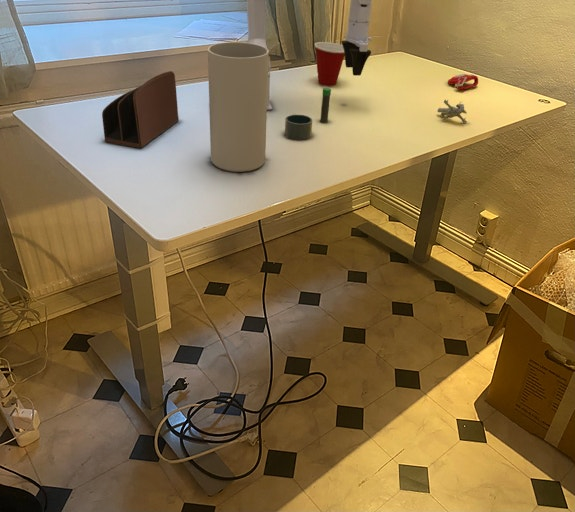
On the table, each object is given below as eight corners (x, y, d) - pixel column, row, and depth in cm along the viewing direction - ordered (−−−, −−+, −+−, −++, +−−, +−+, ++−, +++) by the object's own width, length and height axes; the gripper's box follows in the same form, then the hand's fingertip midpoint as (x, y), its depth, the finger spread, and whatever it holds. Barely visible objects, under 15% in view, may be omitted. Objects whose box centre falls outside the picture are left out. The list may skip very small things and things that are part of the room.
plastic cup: (345, 89, 176) (350, 50, 169) (311, 87, 175) (314, 48, 169) (343, 79, 185) (347, 42, 178) (311, 77, 184) (313, 40, 178)
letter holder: (179, 121, 147) (175, 67, 139) (141, 149, 131) (135, 90, 123) (145, 115, 149) (140, 61, 141) (104, 142, 133) (95, 83, 125)
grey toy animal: (456, 114, 163) (477, 114, 154) (445, 131, 162) (466, 131, 154) (435, 92, 158) (455, 91, 150) (423, 110, 158) (443, 109, 150)
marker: (320, 123, 151) (323, 90, 146) (319, 120, 153) (322, 87, 148) (328, 123, 151) (331, 90, 146) (326, 120, 153) (330, 87, 148)
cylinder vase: (237, 145, 135) (237, 39, 121) (276, 161, 129) (281, 51, 115) (199, 161, 127) (194, 48, 113) (238, 178, 121) (239, 61, 107)
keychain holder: (442, 77, 188) (470, 70, 188) (443, 90, 190) (471, 83, 190) (456, 79, 177) (486, 72, 177) (458, 93, 179) (487, 86, 179)
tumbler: (287, 140, 140) (288, 124, 137) (282, 130, 145) (283, 114, 143) (313, 139, 141) (314, 124, 139) (308, 129, 146) (309, 114, 144)
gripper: (381, 26, 145) (374, 78, 153) (365, 15, 157) (359, 63, 165) (355, 26, 144) (349, 78, 152) (341, 14, 156) (336, 63, 163)
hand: (353, 71), depth 158 cm, fingers open, 7 cm apart
